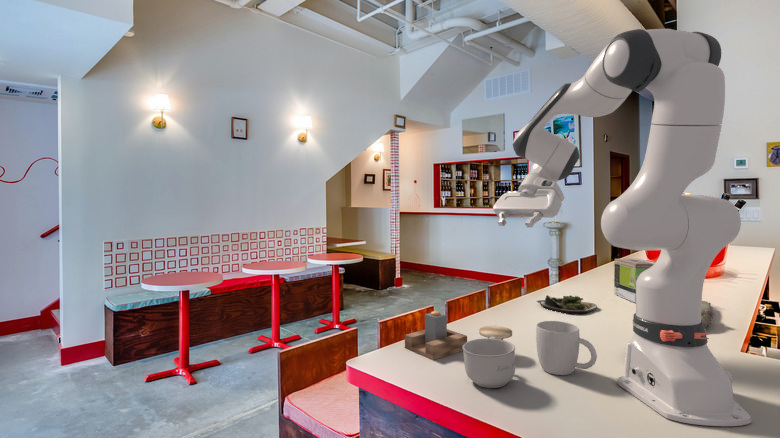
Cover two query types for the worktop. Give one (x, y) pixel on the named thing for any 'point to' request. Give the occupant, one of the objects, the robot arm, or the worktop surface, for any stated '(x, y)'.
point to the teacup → (489, 361)
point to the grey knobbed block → (435, 326)
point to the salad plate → (567, 305)
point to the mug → (561, 347)
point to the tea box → (628, 276)
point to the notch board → (435, 344)
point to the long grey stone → (706, 313)
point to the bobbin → (495, 332)
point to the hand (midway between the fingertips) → (513, 225)
